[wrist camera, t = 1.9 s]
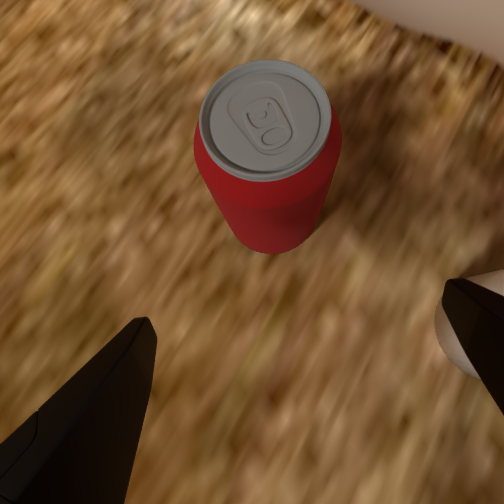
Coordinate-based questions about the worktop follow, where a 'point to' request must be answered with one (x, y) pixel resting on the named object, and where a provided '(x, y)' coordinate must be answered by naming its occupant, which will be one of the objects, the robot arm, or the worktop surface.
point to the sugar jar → (446, 336)
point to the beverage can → (268, 152)
